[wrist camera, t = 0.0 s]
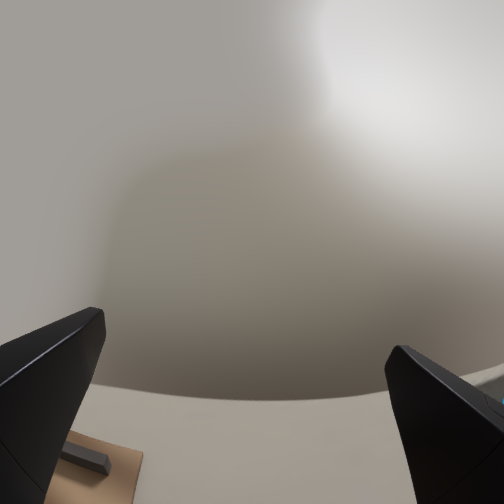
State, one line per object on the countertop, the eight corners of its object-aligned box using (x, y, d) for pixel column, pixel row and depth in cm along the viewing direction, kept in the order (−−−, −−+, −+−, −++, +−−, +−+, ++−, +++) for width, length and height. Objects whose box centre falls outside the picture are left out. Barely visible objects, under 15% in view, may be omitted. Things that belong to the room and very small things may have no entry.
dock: (113, 627, 3) (104, 630, 2) (-52, 534, 1) (-70, 522, 1) (143, 455, 18) (140, 440, 17) (11, 407, 16) (2, 389, 16)
